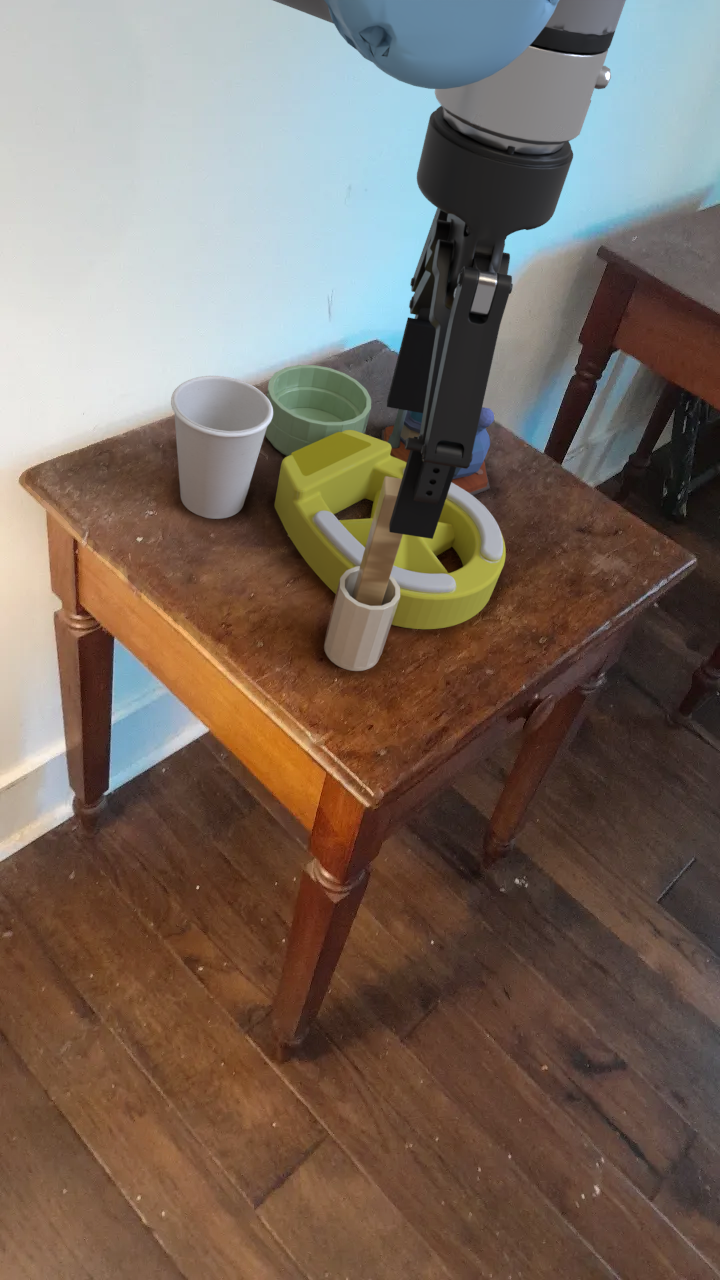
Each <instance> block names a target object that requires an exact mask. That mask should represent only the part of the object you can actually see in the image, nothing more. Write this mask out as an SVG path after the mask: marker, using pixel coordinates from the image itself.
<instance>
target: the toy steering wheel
mask: <svg viewBox="0 0 720 1280" xmlns="http://www.w3.org/2000/svg"><path fill="white" fill-rule="evenodd" d="M391 448H392V447H391V445H390V444H389V443H388V442H385V441H382V440H381V439H380V438H376V437H374V436H371V435H368V434H366V433H365V434H363V433H360V432H358V431H354V430H345V431H342V432H337V433H334V434H332V435H330V436H328V437H325V438H323V439H321V440H319V441H317V442H314V443H312V444H310V445H308V446H306V447H303V448H301V449H299V450H297V451H294V452H292V453H291V455H289V456H285V457H284V458H283V459H282V461H281V464H280V470H279V475H278V481H277V488H276V494H275V498H274V499H275V500H274V509H275V512H276V513H277V515H278V517H279V519H280V521H281V524H282V525H283V528H284V530H285V531H286V533H287V535H288V537H289V539H290V540H291V542H292V543H293V545H294V547H295V548H296V550H297V551H298V553H299V555H301V558H303V560H304V561H305V562H306V563H307V565H308V566H309V567H310V568H311V570H312V571H313V572H314V573H315V575H317V577H319V579H320V580H321V581H322V582H323V583H324V584H325V586H326V587H328V588H329V589H330V590H331V591H332V592H333V594H335V595H336V592H337V588H338V585H339V581H340V578H341V576H342V575H343V574H344V573H345V571H347V570H349V569H351V568H354V567H356V566H360V565H361V561H362V558H363V554H364V550H365V547H366V543H367V539H368V536H369V532H370V529H371V525H372V521H373V518H374V514H375V510H376V507H377V503H378V499H379V496H380V492H381V488H382V485H383V481H384V477H385V476H387V477H393V478H399V479H402V478H403V474H404V471H405V467H406V464H407V463H406V462H404V461H402V460H400V459H397V458H395V457H392V456H391V455H390V453H391ZM364 499H366V500H369V501H370V502H372V507H371V513H370V518H354V519H353V518H352V519H338V517H337V516H336V514H338V513H340V512H342V511H343V510H345V509H347V508H349V507H351V506H353V505H355V504H357V503H358V502H360V501H362V500H364ZM450 548H452V549H453V550H454V551H455V553H456V554H457V556H458V557H459V559H460V561H461V563H462V567H460V568H458V569H456V570H454V571H451V572H448V570H447V569H446V568H445V566H444V565H443V564H442V562H441V561H440V559H438V556H440V555H441V554H443V553H444V552H446V551H448V550H449V549H450ZM506 551H507V550H506V543H505V539H504V537H503V533H502V531H501V528H500V526H499V524H498V522H497V520H496V518H495V517H494V516H493V514H492V513H491V512H490V511H489V509H488V508H487V507H486V506H485V505H484V504H483V503H482V502H481V501H480V500H479V499H477V498H476V497H475V495H473V496H472V495H471V494H470V493H468V492H467V491H465V490H464V489H462V488H460V487H459V486H457V485H455V484H454V483H452V482H451V485H450V488H449V491H448V494H447V497H446V500H445V503H444V506H443V509H442V512H441V515H440V518H439V521H438V524H437V527H436V530H435V533H434V536H433V539H430V538H424V537H417V536H411V535H405V534H403V536H402V539H401V542H400V546H399V549H398V552H397V555H396V559H395V562H394V565H393V568H392V572H391V576H392V577H393V578H394V579H395V580H396V582H397V583H398V585H399V586H400V599H399V602H398V605H397V608H396V611H395V614H394V618H393V621H392V624H391V626H395V627H401V628H406V629H413V630H438V629H444V628H449V627H450V628H451V627H454V626H456V625H460V624H462V623H465V622H466V621H469V620H470V619H472V618H474V617H475V616H476V615H478V614H479V613H480V612H481V611H482V610H483V609H484V608H485V607H486V606H487V604H488V603H489V601H490V598H491V597H492V595H493V592H494V589H495V588H496V585H497V583H498V580H499V578H500V575H501V572H502V570H503V569H504V566H505V562H506V556H507V553H506Z"/></svg>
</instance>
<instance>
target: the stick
mask: <svg viewBox="0 0 720 1280" xmlns="http://www.w3.org/2000/svg"><path fill="white" fill-rule="evenodd" d="M401 481H402V479H399V478H393V477H387V476H385V477H384V481H383V485H382V488H381V492H380V496H379V499H378V503H377V507H376V510H375V514H374V518H373V521H372V525H371V529H370V532H369V536H368V539H367V543H366V547H365V550H364V554H363V558H362V561H361V565H360V569H359V572H358V576H357V580H356V583H355V587H354V591H353V594H352V598H354V599H355V600H356V601H358V602H360V603H363V604H366V605H369V606H381V604H382V601H383V598H384V594H385V591H386V588H387V585H388V581H389V578H390V575H391V572H392V568H393V565H394V562H395V559H396V555H397V552H398V549H399V546H400V542H401V539H402V536H403V534H398V533H392V532H389V524H390V520H391V517H392V513H393V509H394V506H395V502H396V499H397V495H398V492H399V488H400V485H401Z"/></svg>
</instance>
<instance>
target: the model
mask: <svg viewBox="0 0 720 1280" xmlns="http://www.w3.org/2000/svg"><path fill="white" fill-rule="evenodd" d="M422 417H423V413H419V412H413V411H407V410H402V409H397V413H396V418H395V420H394V424H393V425H390V426H387V427H385V429H381V439H380V440H382V441H385V442H388V443H389V444H390V445H391V447H392V448H391V453H390V455H391V456H392V457H395V458H397V459H400V460H402V461H404V462H406V463H407V460H408V457H409V453H410V450H406V449H405V439H407V438H409V437H410V438H414V437H418V436H420V429H421V423H422ZM494 421H495V413H494V412H493V411H492V409H491V408H489V407H483V406H482V410H481V415H480V419H479V424H478V428H477V433H476V438H475V442H474V447H473V451H472V454H473V457H472V461H471V463H470V466H469V467H468V468H467V469H464V468H458V467H456V470H455V473H454V476H453V479H452V483H454V484H455V485H457V486H459V487H460V488H462V489H464V490H465V491H467V492H468V493H470V494H471V495H472V496H475V495H478V494H480V493H482V492H485V491H487V490H490V488H491V487H490V482H489V478H488V472H487V468H486V463H485V462H486V461H485V459H486V456H487V454H488V451H489V449H490V446H491V439H490V435H489V432H488V431H487V428H489V427H490V426H491V425H492V423H494Z"/></svg>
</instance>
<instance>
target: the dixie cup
mask: <svg viewBox="0 0 720 1280" xmlns="http://www.w3.org/2000/svg"><path fill="white" fill-rule="evenodd" d="M170 405H171V409H172V412H173V413H174V428H175V442H176V451H177V453H176V454H177V466H178V479H179V480H178V481H179V493H180V494H179V495H180V500H181V502H182V504H183V506H184V507H185V508H186V509H187V510H188V511H190V512H192V513H193V514H195V515H197V516H199V517H203V518H206V519H213V520H215V519H216V520H219V519H220V520H221V519H228V518H230V517H233V516H235V515H236V514H238V513H239V512H240V511H241V510H242V509H243V507H244V504H245V502H246V498H247V495H248V493H249V489H250V486H251V483H252V479H253V474H254V471H255V468H256V465H257V461H258V457H259V455H260V452H261V448H262V445H263V443H264V439H265V432H266V429H267V426H268V425H269V424H270V422H271V420H272V417H273V407H272V405H271V402H270V401H269V399H268V398H267V395H266V394H264V392H263V391H262V390H260V389H259V388H257V387H255V386H254V385H252V384H250V383H249V382H246V381H244V380H241V379H237V378H234V377H230V376H224V375H204V376H198V377H194V378H190V379H188V380H186V381H183V382H181V384H179V385H178V386H177V387H175V388H174V390H173V392H172V394H171V396H170Z"/></svg>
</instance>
